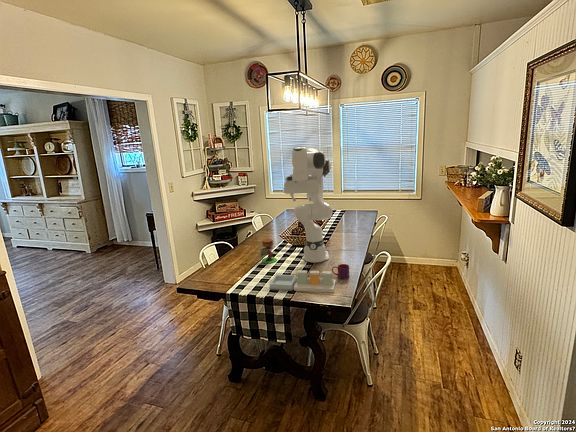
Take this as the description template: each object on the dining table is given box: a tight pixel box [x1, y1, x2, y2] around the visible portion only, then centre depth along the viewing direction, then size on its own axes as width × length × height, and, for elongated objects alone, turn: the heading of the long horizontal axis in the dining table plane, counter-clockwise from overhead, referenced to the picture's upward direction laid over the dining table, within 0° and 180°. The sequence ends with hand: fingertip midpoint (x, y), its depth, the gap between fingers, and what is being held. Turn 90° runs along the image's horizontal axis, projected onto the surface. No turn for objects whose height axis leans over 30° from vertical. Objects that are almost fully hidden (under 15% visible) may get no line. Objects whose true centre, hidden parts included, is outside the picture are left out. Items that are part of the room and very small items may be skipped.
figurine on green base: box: [259, 238, 278, 264], centre depth 225 cm, size 12×13×15 cm
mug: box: [331, 263, 350, 280], centre depth 192 cm, size 7×10×7 cm
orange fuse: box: [309, 270, 321, 285], centre depth 181 cm, size 3×5×7 cm, turn 76°
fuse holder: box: [293, 276, 337, 293], centre depth 182 cm, size 12×22×5 cm, turn 76°
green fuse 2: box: [321, 270, 333, 285], centre depth 179 cm, size 3×5×7 cm, turn 76°
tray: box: [269, 274, 298, 292], centre depth 187 cm, size 13×13×4 cm
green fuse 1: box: [297, 269, 308, 284], centre depth 183 cm, size 3×5×7 cm, turn 76°
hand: (302, 201), depth 183 cm, fingers open, 8 cm apart
